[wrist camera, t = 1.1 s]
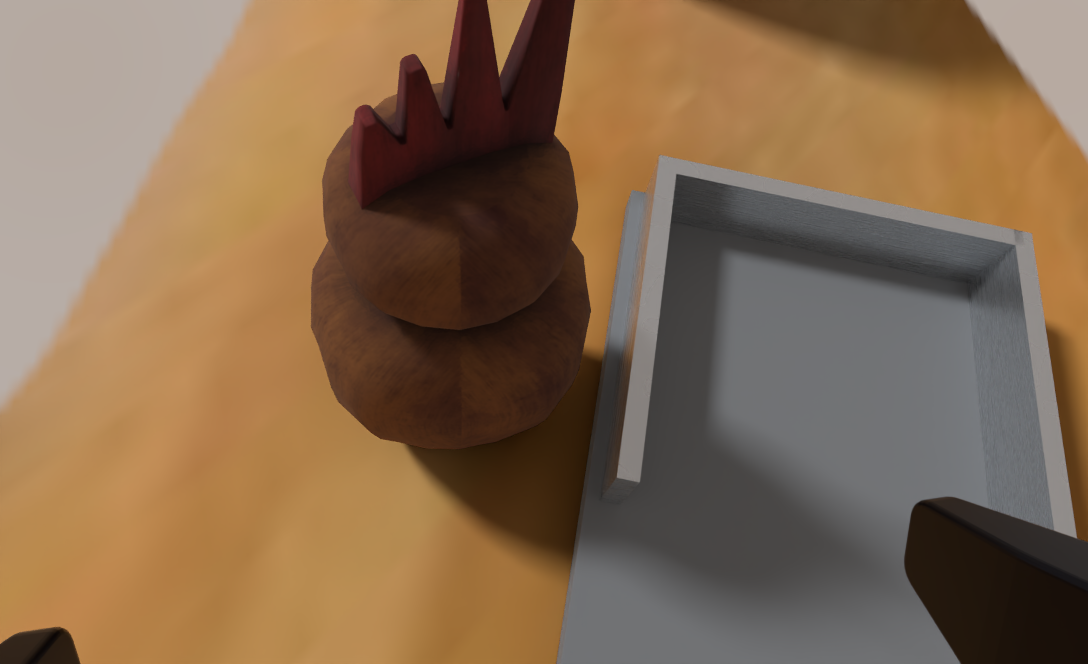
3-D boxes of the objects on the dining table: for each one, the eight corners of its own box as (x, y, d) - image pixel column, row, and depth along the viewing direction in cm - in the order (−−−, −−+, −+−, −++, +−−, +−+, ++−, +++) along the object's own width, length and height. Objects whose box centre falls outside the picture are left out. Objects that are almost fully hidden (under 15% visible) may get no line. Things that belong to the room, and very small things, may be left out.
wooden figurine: (549, 295, 25) (658, -167, 11) (572, 463, 22) (745, 124, 9) (342, 307, 24) (197, -184, 10) (343, 483, 21) (154, 137, 8)
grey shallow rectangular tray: (1030, 827, 19) (1140, 853, 16) (545, 733, 19) (563, 741, 16) (974, 279, 27) (1042, 225, 24) (626, 206, 27) (648, 142, 24)
